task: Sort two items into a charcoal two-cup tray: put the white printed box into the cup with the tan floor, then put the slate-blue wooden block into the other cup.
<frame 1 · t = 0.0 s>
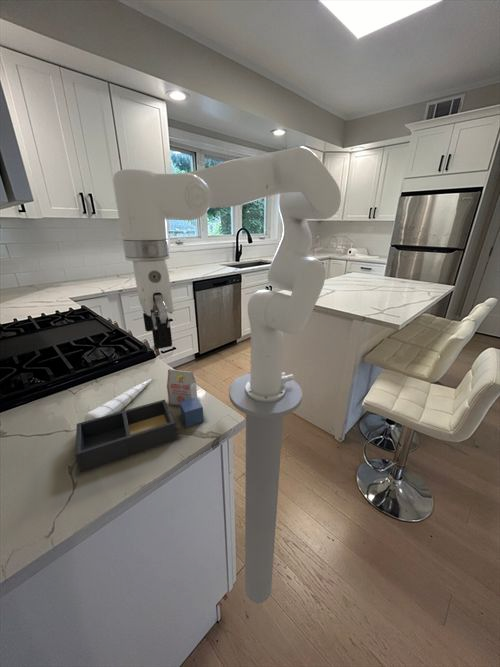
hand: (158, 338, 56), 25 cm above the countertop, tool pointing down, fingers open, 9 cm apart
white printed box: (183, 402, 77), on the countertop
unicorn horn: (123, 405, 76), on the countertop
block: (192, 418, 70), on the countertop
sorter: (129, 439, 64), on the countertop
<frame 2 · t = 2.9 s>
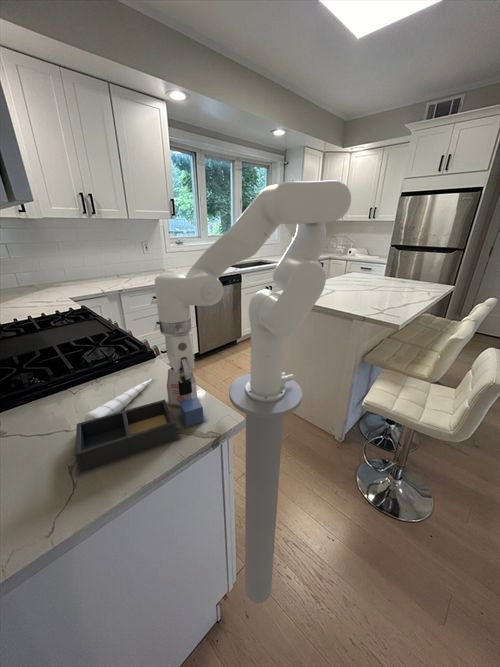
hand: (181, 385, 75), 5 cm above the countertop, tool pointing down, fingers closed on white printed box, 7 cm apart
white printed box: (183, 402, 77), on the countertop, touching gripper
everything else where it was.
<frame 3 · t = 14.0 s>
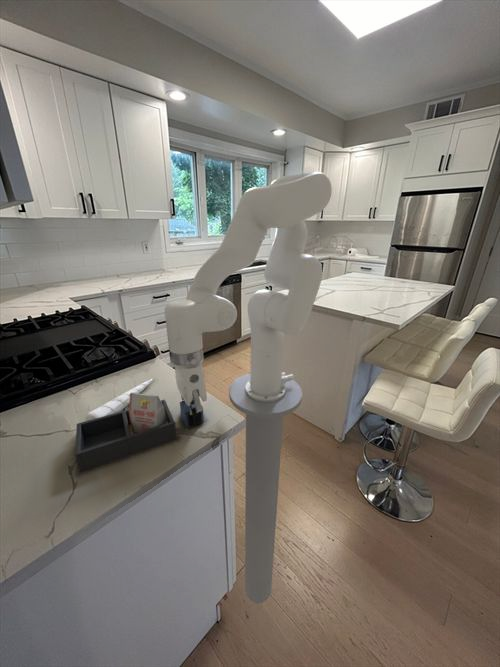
hand: (192, 417, 70), 0 cm above the countertop, tool pointing down, fingers closed on block, 4 cm apart
white printed box: (150, 430, 66), point 1 cm above the countertop, touching sorter
block: (192, 418, 70), on the countertop, touching gripper
everything else where it was.
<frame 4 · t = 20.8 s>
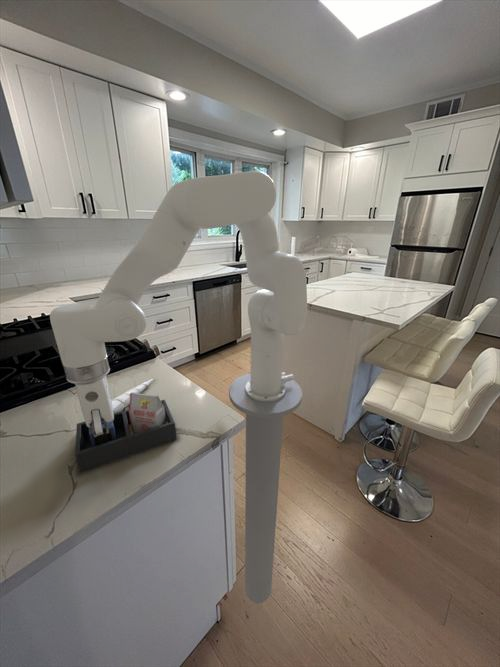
hand: (104, 439, 61), 2 cm above the countertop, tool pointing down, fingers closed on block, 4 cm apart
block: (104, 440, 61), point 2 cm above the countertop, touching gripper
everything else where it was.
when the fingers open (4 cm above the countertop, at t = 31.2 s): block drops 3 cm, resting on sorter.
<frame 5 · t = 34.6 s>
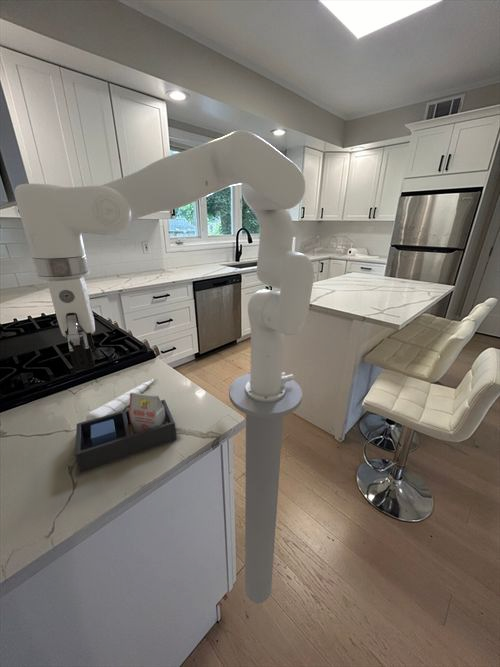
hand: (85, 357, 53), 22 cm above the countertop, tool pointing down, fingers open, 9 cm apart
unicorn horn: (125, 405, 76), on the countertop, touching sorter
block: (106, 444, 61), point 1 cm above the countertop, touching sorter
everything else where it was.
at the end: white printed box inside the target area in the sorter (0.0 cm from its centre), point 0.6 cm above the sorter's base; block inside the target area in the sorter (0.1 cm from its centre), point 0.6 cm above the sorter's base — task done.
